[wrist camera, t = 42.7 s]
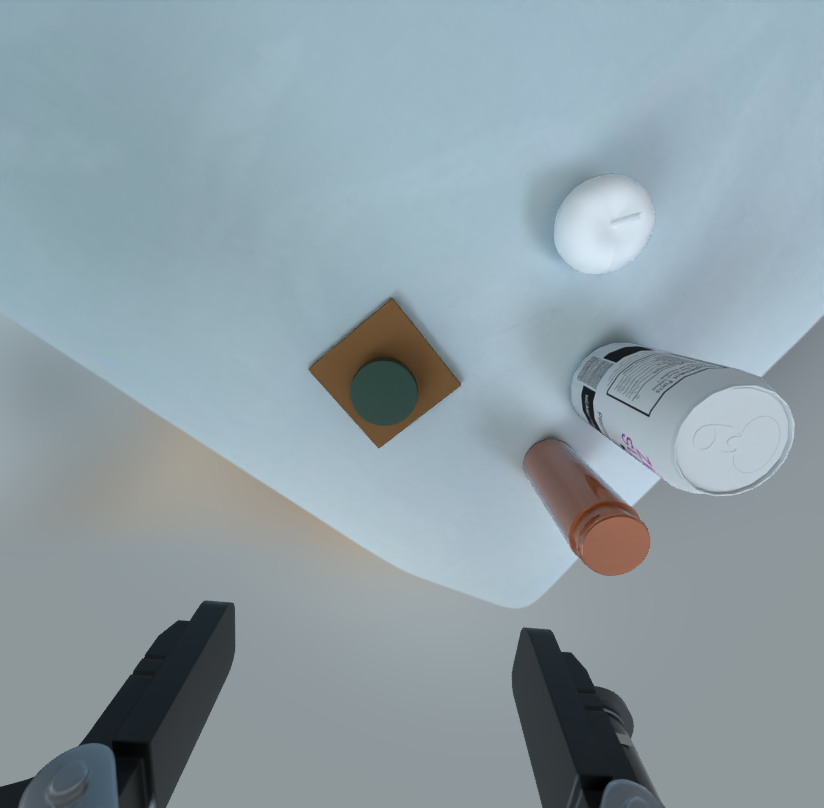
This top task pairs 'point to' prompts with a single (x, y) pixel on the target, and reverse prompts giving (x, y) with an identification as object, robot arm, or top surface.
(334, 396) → the coaster
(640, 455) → the supplement can
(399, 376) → the lid
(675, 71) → the top surface
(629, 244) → the plain white apple
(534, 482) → the jar
